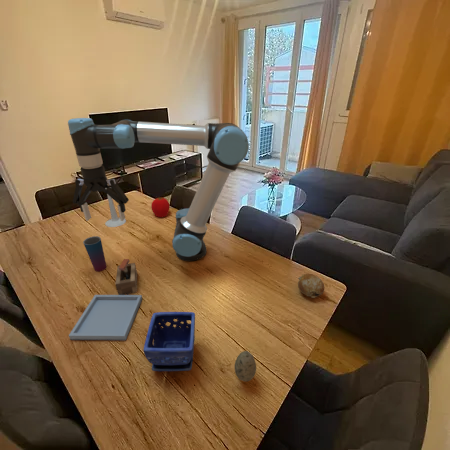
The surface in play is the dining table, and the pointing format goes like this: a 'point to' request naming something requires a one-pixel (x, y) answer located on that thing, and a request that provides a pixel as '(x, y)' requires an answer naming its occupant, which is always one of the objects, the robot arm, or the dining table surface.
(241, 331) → the dining table surface
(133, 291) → the brown hollow block
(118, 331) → the tray
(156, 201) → the red apple
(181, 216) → the robot arm
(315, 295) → the bread roll
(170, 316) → the flower pot
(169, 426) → the dining table surface
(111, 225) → the candlestick
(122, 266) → the mallet
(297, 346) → the dining table surface
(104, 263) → the cup
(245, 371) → the decorative egg
